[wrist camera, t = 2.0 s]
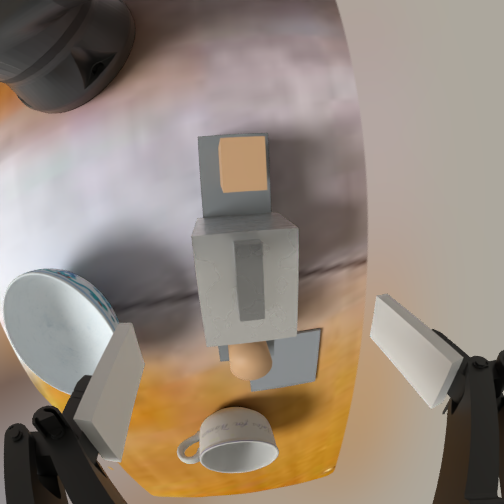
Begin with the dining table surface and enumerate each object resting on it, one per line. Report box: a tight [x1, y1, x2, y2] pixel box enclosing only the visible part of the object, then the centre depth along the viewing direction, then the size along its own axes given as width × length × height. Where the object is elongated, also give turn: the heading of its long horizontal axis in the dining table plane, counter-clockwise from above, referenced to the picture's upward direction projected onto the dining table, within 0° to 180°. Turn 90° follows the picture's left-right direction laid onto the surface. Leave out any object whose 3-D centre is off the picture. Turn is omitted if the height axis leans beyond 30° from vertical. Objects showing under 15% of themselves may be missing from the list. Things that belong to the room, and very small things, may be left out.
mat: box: [250, 328, 320, 392], centre depth 33 cm, size 9×9×1 cm
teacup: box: [177, 407, 279, 473], centre depth 32 cm, size 14×11×8 cm
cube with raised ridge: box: [191, 212, 299, 347], centre depth 20 cm, size 8×6×7 cm
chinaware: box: [3, 269, 119, 395], centre depth 24 cm, size 15×15×8 cm
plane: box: [198, 133, 274, 380], centre depth 22 cm, size 21×6×12 cm, turn 3°
